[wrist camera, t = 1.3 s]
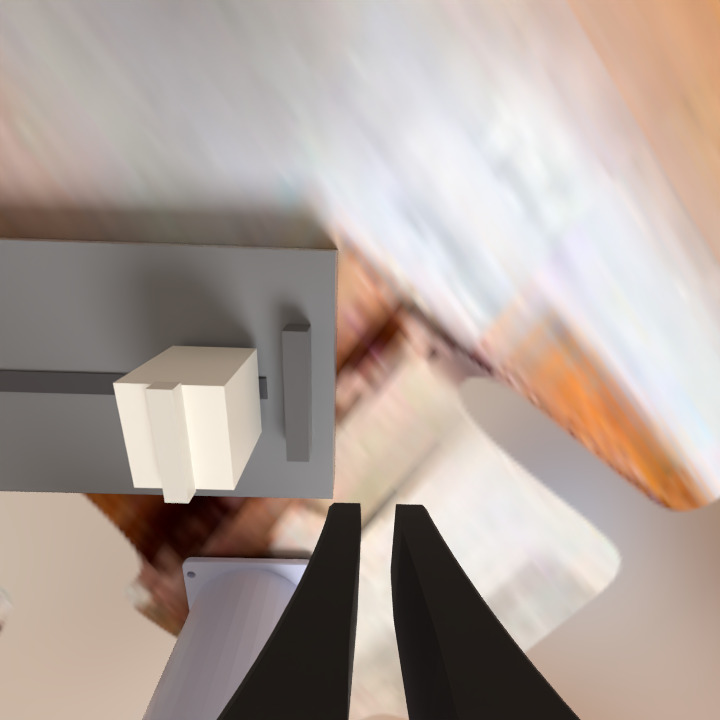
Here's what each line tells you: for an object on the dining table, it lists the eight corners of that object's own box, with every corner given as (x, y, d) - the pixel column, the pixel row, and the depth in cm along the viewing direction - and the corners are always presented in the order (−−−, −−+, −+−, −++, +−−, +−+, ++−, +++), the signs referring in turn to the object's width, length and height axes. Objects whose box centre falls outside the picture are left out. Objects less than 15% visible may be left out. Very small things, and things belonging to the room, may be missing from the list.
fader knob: (261, 433, 17) (228, 504, 12) (184, 431, 17) (124, 501, 12) (256, 346, 15) (216, 391, 11) (172, 343, 15) (99, 387, 11)
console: (334, 474, 20) (330, 516, 17) (-182, 461, 20) (-278, 502, 17) (338, 249, 16) (333, 253, 13) (-307, 226, 16) (-462, 225, 13)
